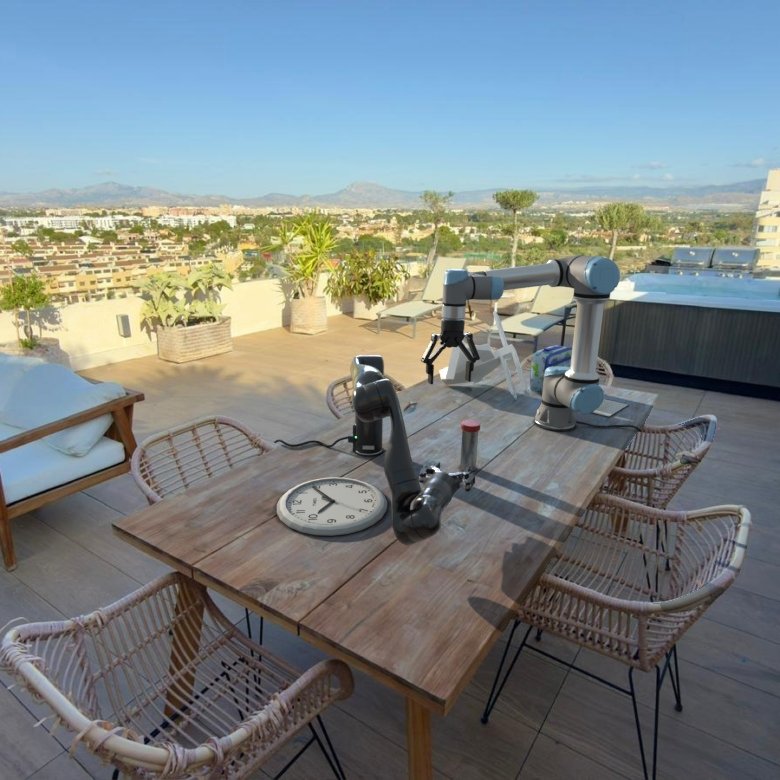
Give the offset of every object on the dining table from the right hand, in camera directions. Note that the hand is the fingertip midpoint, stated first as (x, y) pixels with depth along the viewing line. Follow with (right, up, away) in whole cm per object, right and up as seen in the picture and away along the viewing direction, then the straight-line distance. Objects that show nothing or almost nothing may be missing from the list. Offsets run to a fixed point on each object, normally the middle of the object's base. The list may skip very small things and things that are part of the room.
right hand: (449, 382), depth 174 cm
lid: (+5, -13, -12) cm, 19 cm away
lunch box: (+56, -3, +74) cm, 93 cm away
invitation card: (+72, -10, +52) cm, 89 cm away
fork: (-11, -10, +49) cm, 51 cm away
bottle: (+5, -28, -8) cm, 29 cm away
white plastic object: (+22, -4, +69) cm, 73 cm away
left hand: (-2, -24, -29) cm, 38 cm away
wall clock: (-36, -34, -31) cm, 58 cm away
